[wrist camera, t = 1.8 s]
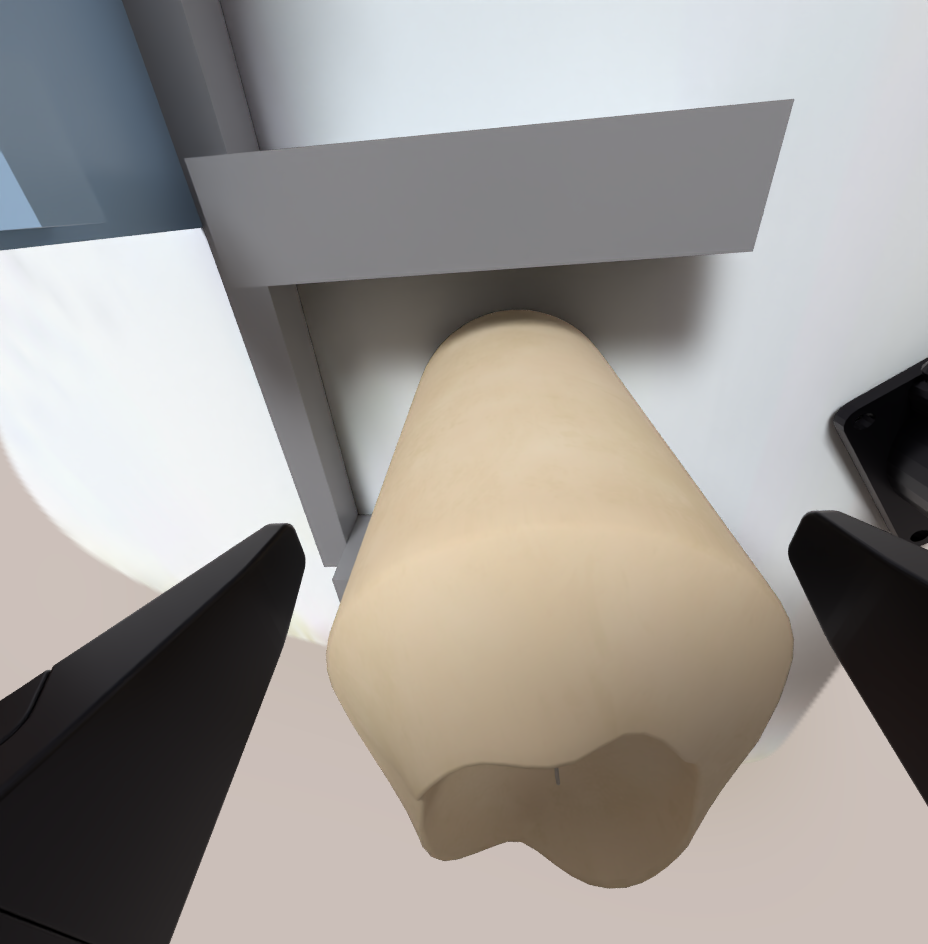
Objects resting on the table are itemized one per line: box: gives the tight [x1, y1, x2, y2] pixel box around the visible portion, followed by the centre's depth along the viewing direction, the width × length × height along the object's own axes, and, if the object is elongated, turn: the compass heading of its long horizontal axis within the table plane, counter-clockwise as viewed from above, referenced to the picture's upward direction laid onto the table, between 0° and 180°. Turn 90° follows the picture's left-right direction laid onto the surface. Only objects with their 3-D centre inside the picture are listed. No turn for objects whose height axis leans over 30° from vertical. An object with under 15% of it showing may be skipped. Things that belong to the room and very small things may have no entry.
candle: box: [326, 310, 794, 888], centre depth 8 cm, size 6×6×10 cm
